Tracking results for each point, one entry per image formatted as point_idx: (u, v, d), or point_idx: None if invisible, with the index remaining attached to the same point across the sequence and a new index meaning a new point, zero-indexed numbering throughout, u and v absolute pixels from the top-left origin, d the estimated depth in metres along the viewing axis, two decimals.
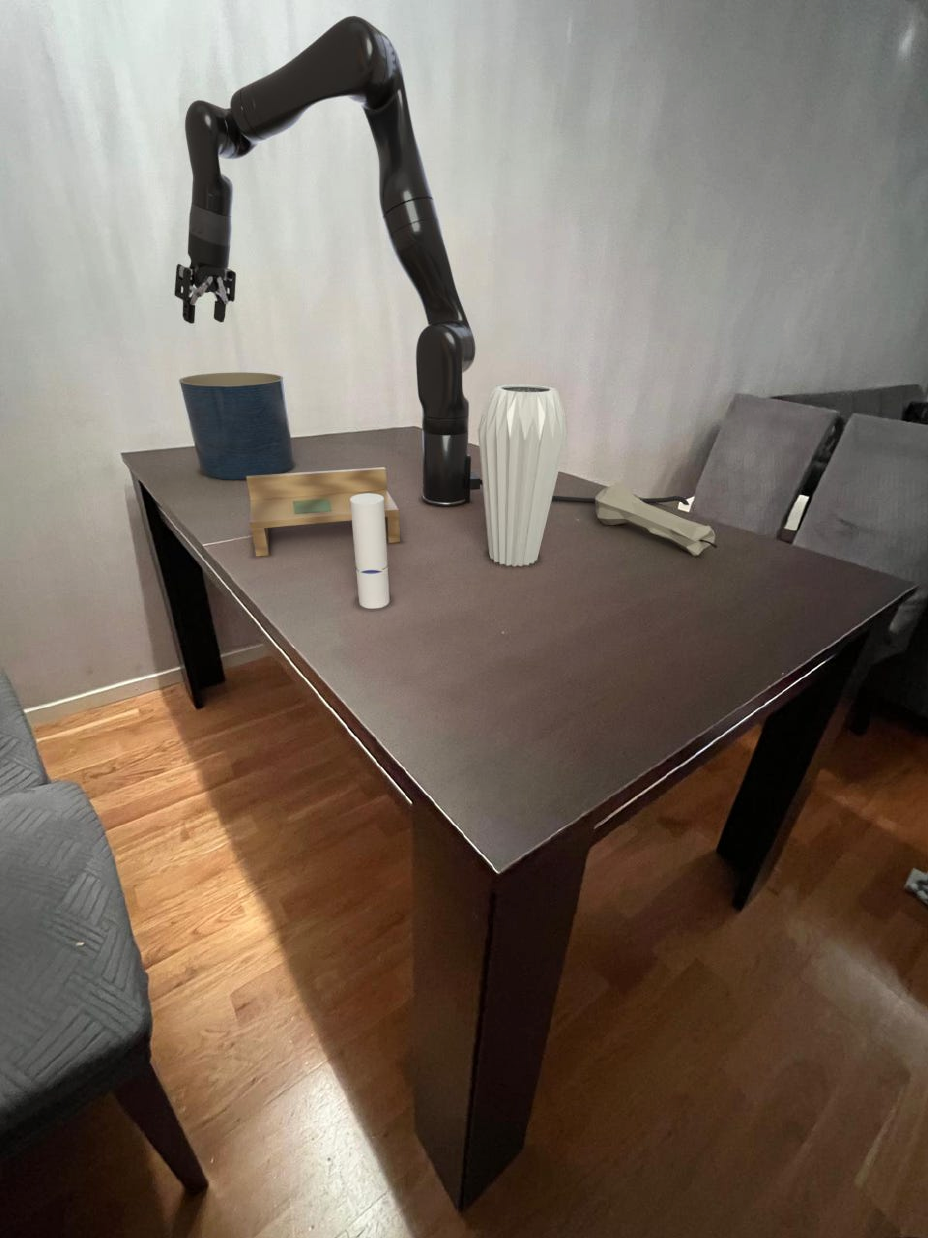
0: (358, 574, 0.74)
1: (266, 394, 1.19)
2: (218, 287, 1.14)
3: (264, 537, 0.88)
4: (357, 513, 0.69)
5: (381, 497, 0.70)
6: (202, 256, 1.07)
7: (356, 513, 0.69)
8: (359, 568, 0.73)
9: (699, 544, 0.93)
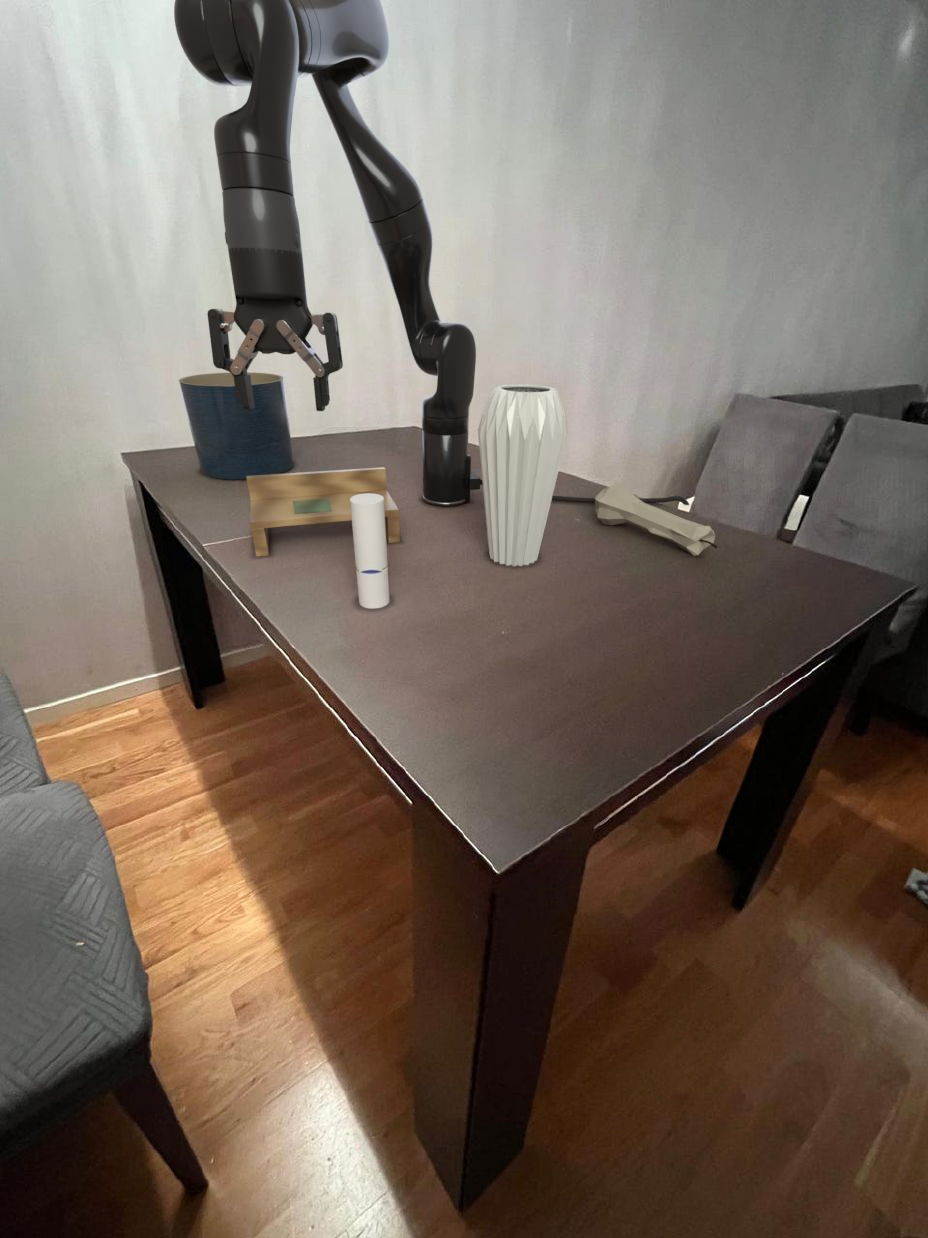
0: (358, 574, 0.74)
1: (266, 394, 1.19)
2: None
3: (264, 537, 0.88)
4: (357, 513, 0.69)
5: (381, 497, 0.70)
6: None
7: (356, 513, 0.69)
8: (359, 568, 0.73)
9: (699, 544, 0.93)
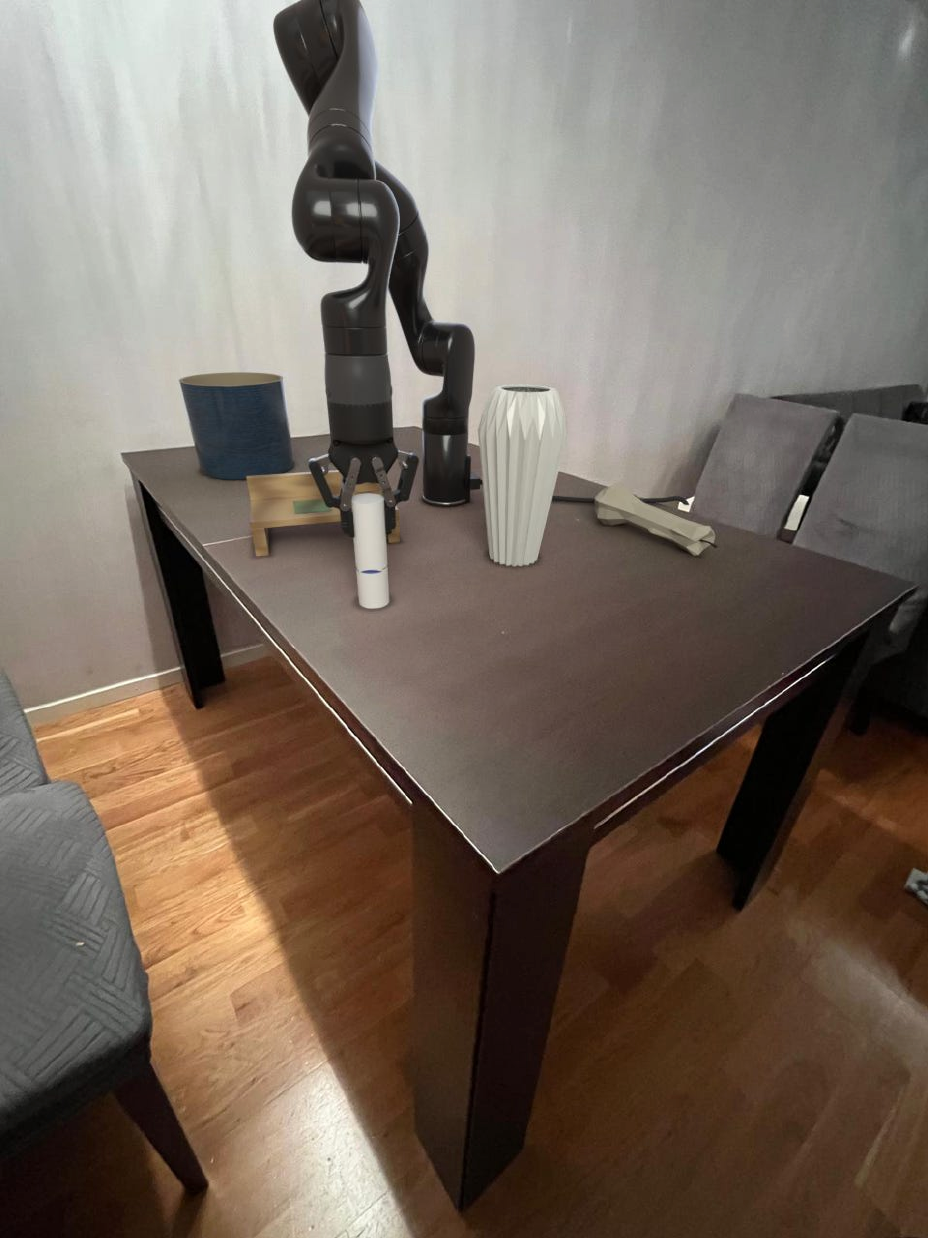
0: (358, 574, 0.74)
1: (266, 394, 1.19)
2: None
3: (264, 537, 0.88)
4: (357, 513, 0.69)
5: (381, 497, 0.70)
6: None
7: (356, 513, 0.69)
8: (359, 568, 0.73)
9: (699, 544, 0.93)
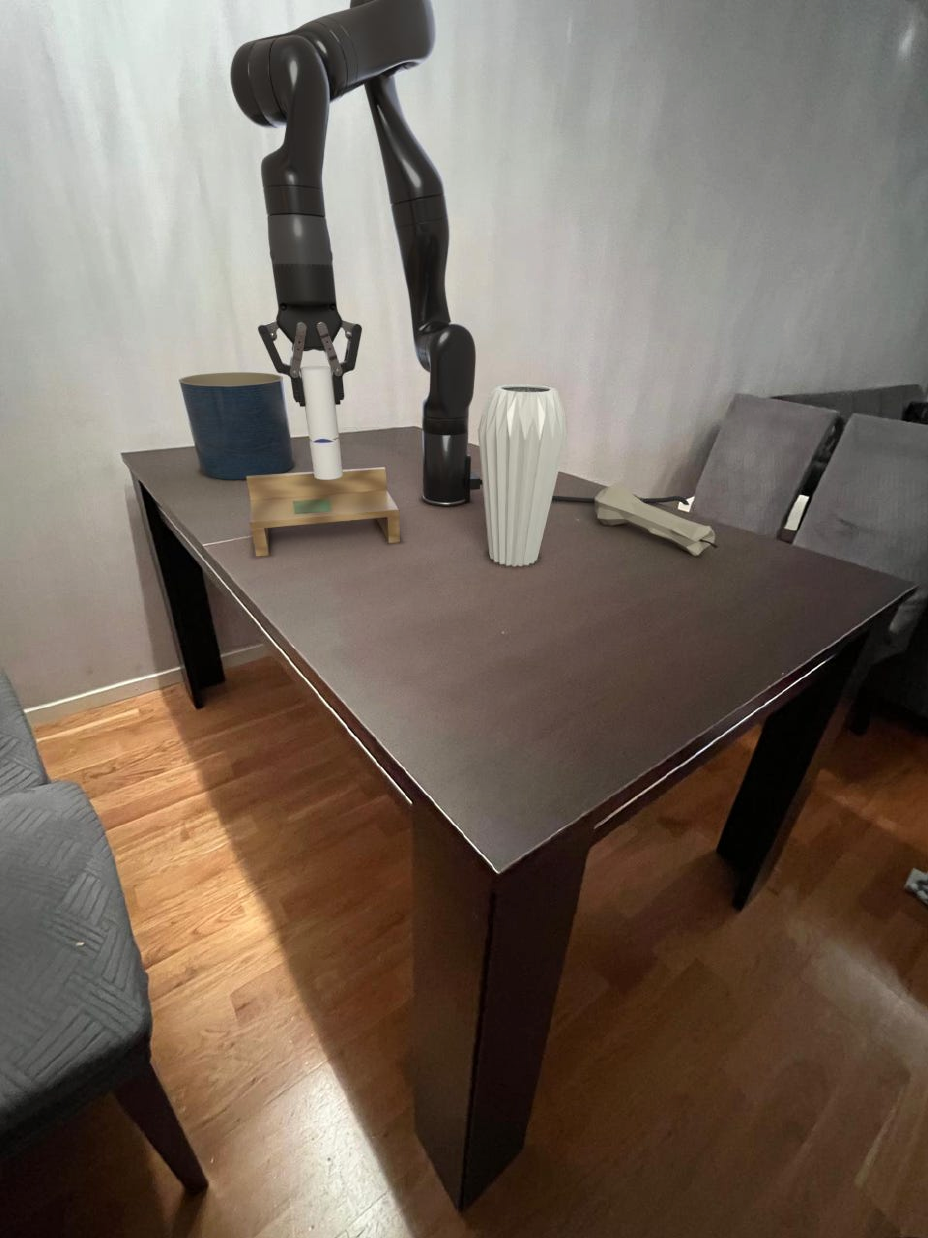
0: (311, 445, 0.80)
1: (266, 394, 1.19)
2: None
3: (264, 537, 0.88)
4: (307, 380, 0.74)
5: (329, 367, 0.76)
6: None
7: (305, 380, 0.75)
8: (312, 438, 0.79)
9: (699, 544, 0.93)
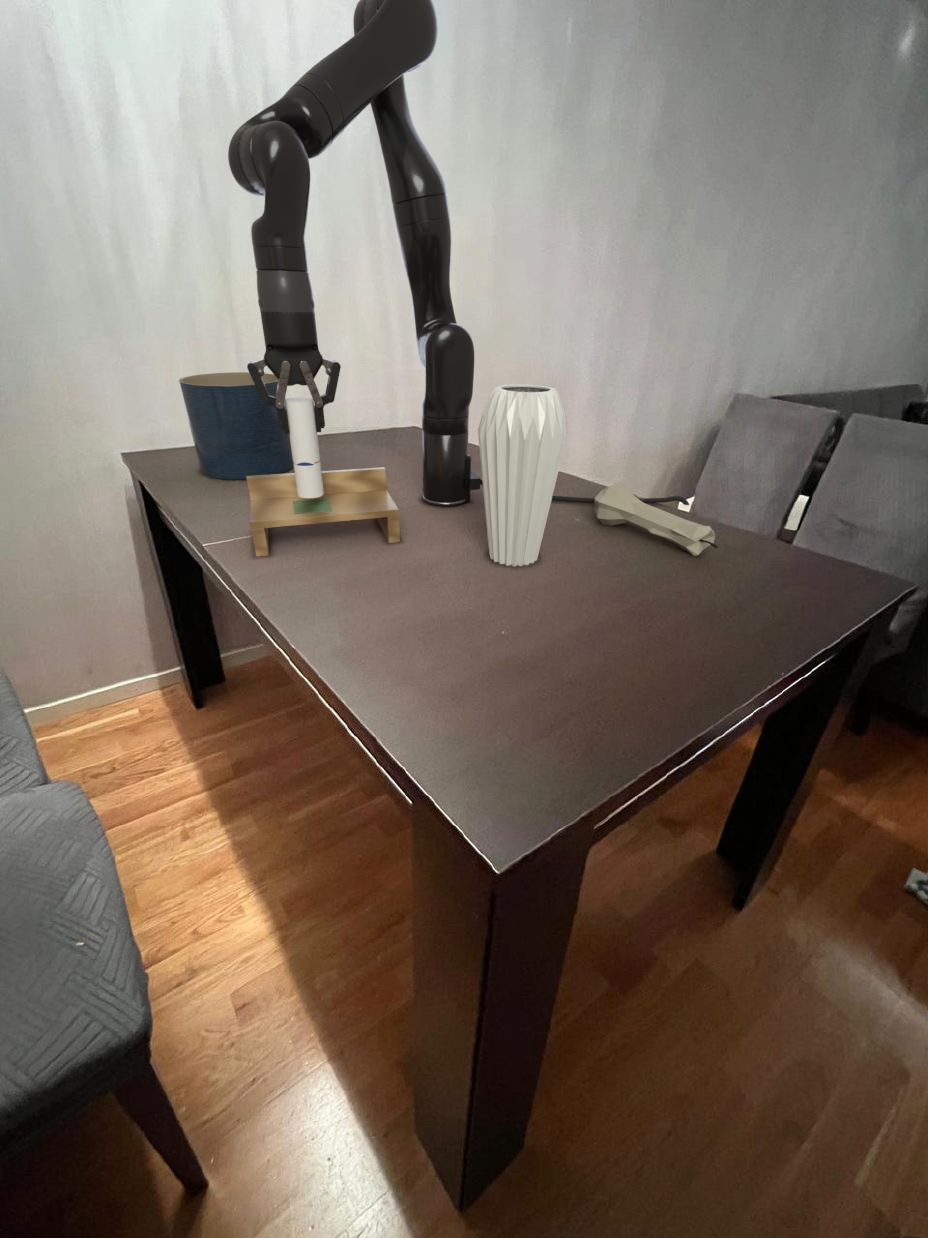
0: (295, 467, 0.89)
1: None
2: None
3: (264, 537, 0.88)
4: (290, 410, 0.84)
5: (311, 399, 0.85)
6: None
7: (289, 411, 0.84)
8: (295, 461, 0.88)
9: (699, 544, 0.93)
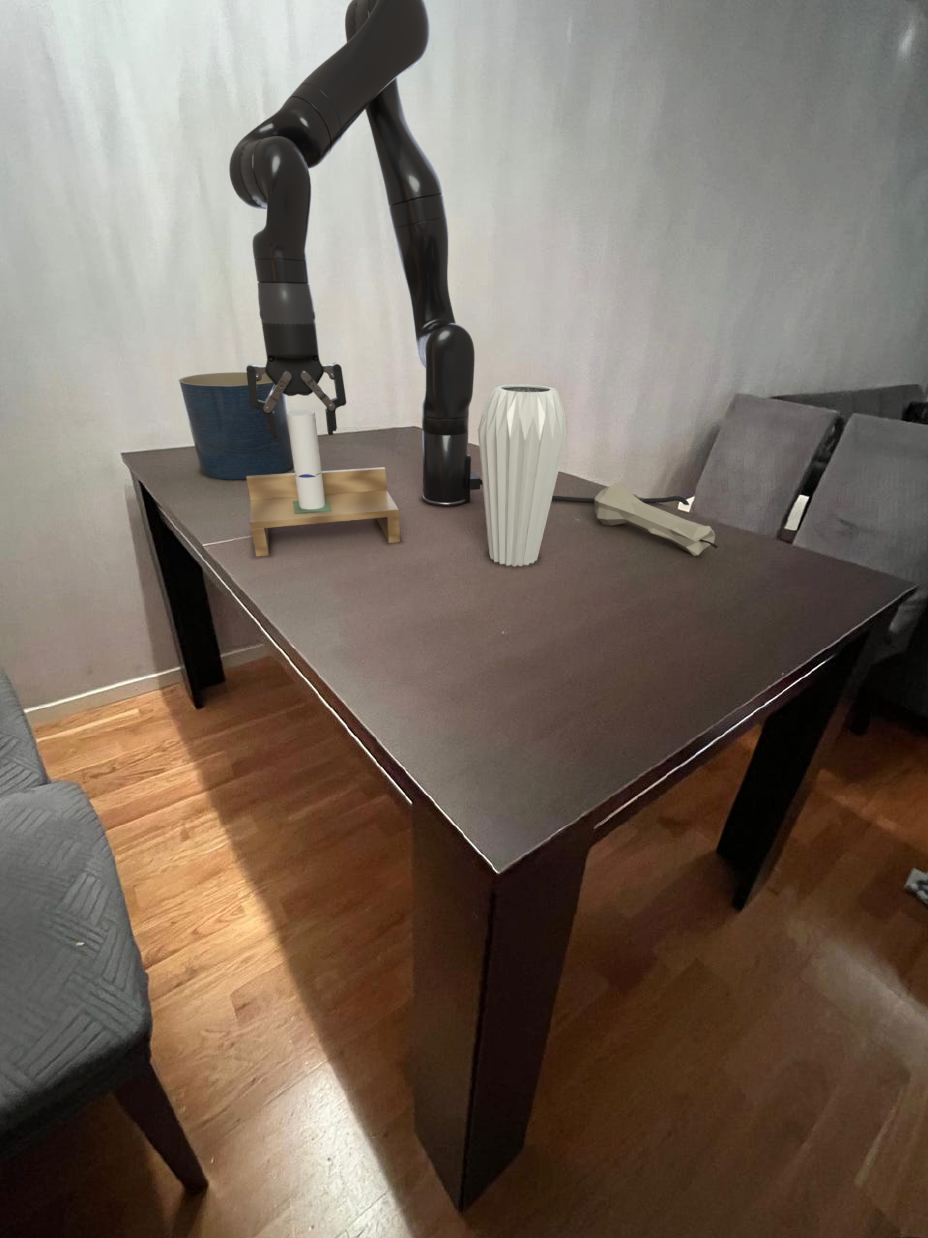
0: (296, 479, 0.90)
1: (266, 394, 1.19)
2: None
3: (264, 537, 0.88)
4: (292, 423, 0.84)
5: (313, 412, 0.86)
6: None
7: (291, 424, 0.85)
8: (297, 473, 0.89)
9: (699, 544, 0.93)
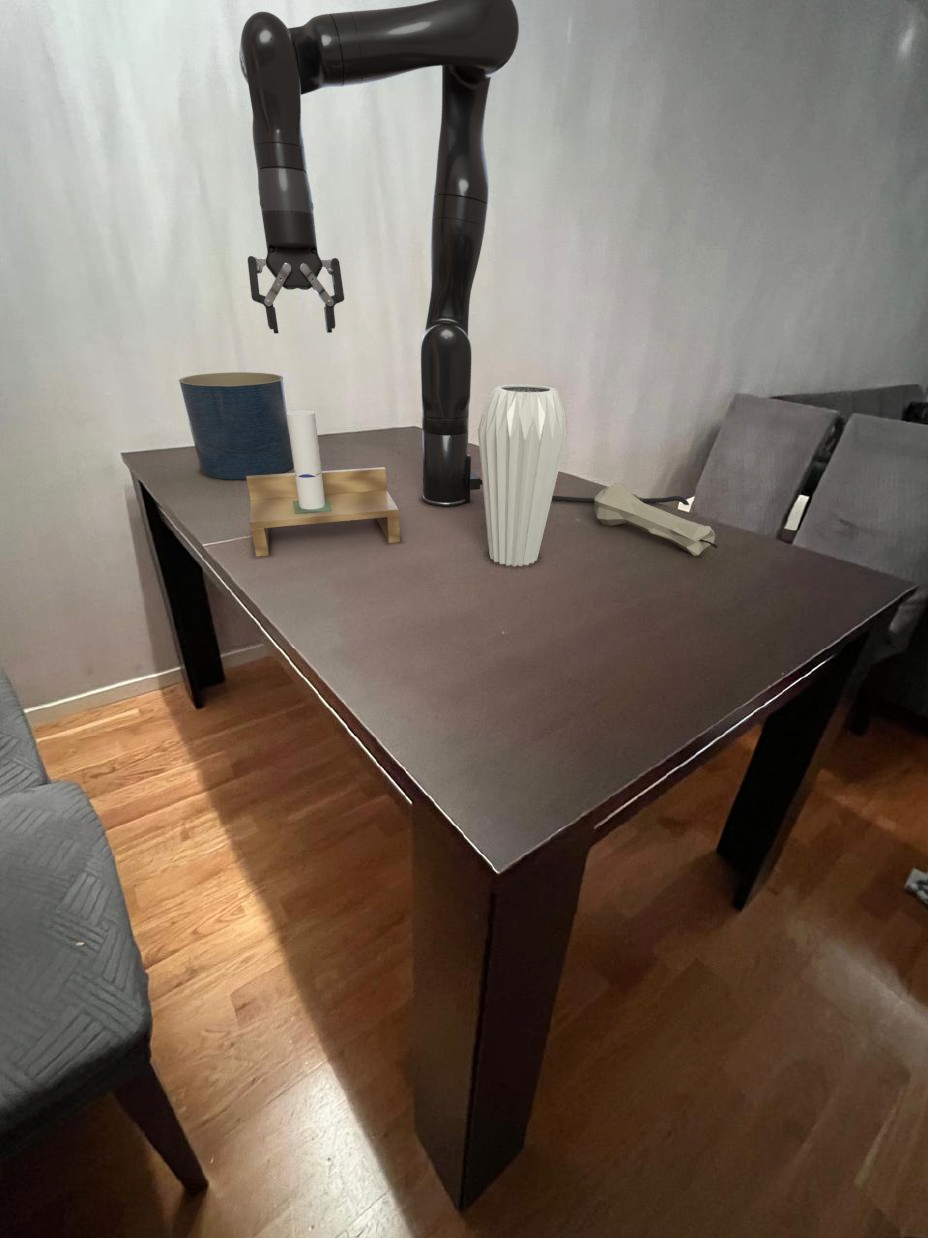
0: (296, 479, 0.90)
1: (266, 394, 1.19)
2: None
3: (264, 537, 0.88)
4: (292, 423, 0.84)
5: (313, 412, 0.86)
6: None
7: (291, 424, 0.85)
8: (297, 473, 0.89)
9: (699, 544, 0.93)
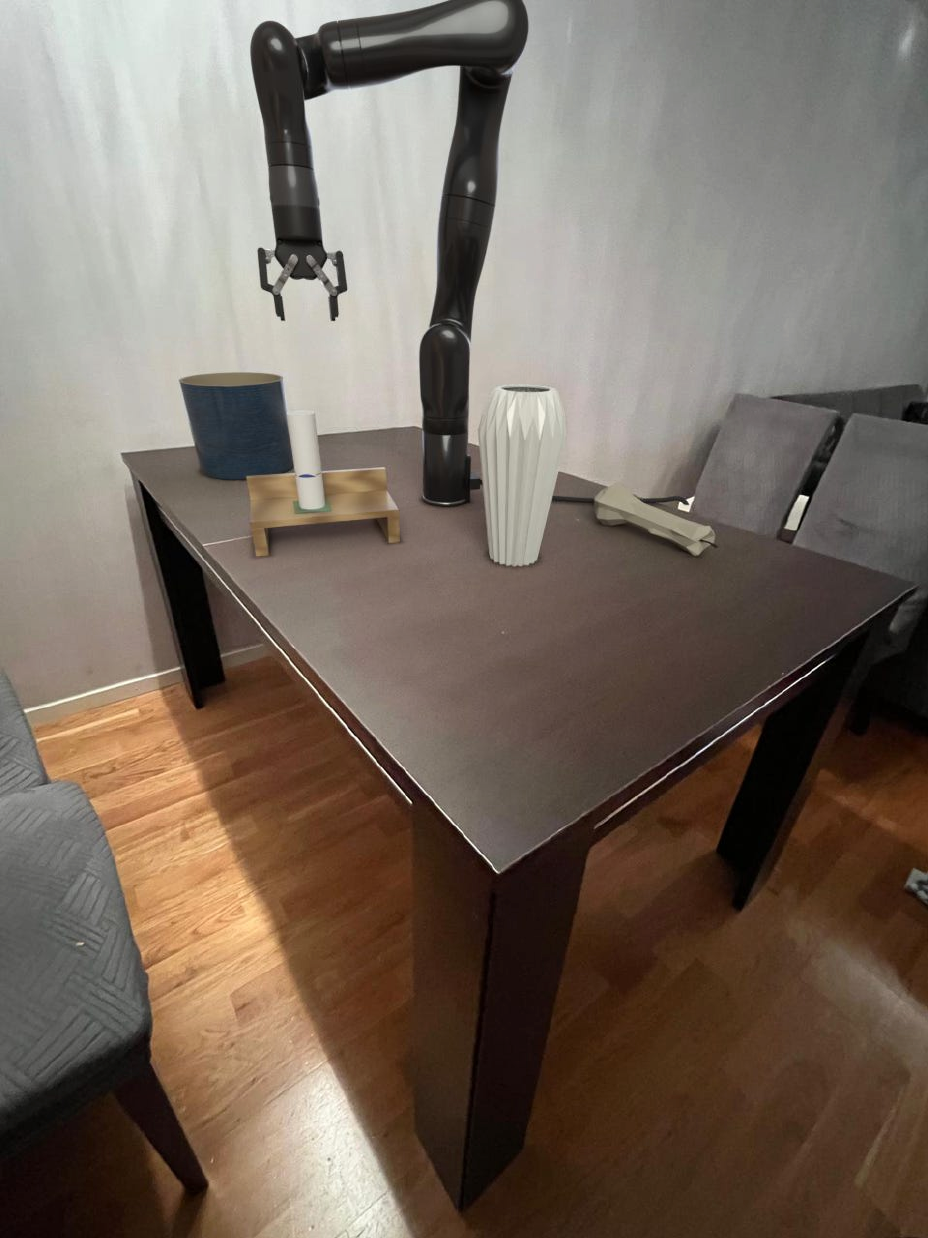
0: (296, 479, 0.90)
1: (266, 394, 1.19)
2: None
3: (264, 537, 0.88)
4: (292, 423, 0.84)
5: (313, 412, 0.86)
6: None
7: (291, 424, 0.85)
8: (297, 473, 0.89)
9: (699, 544, 0.93)
